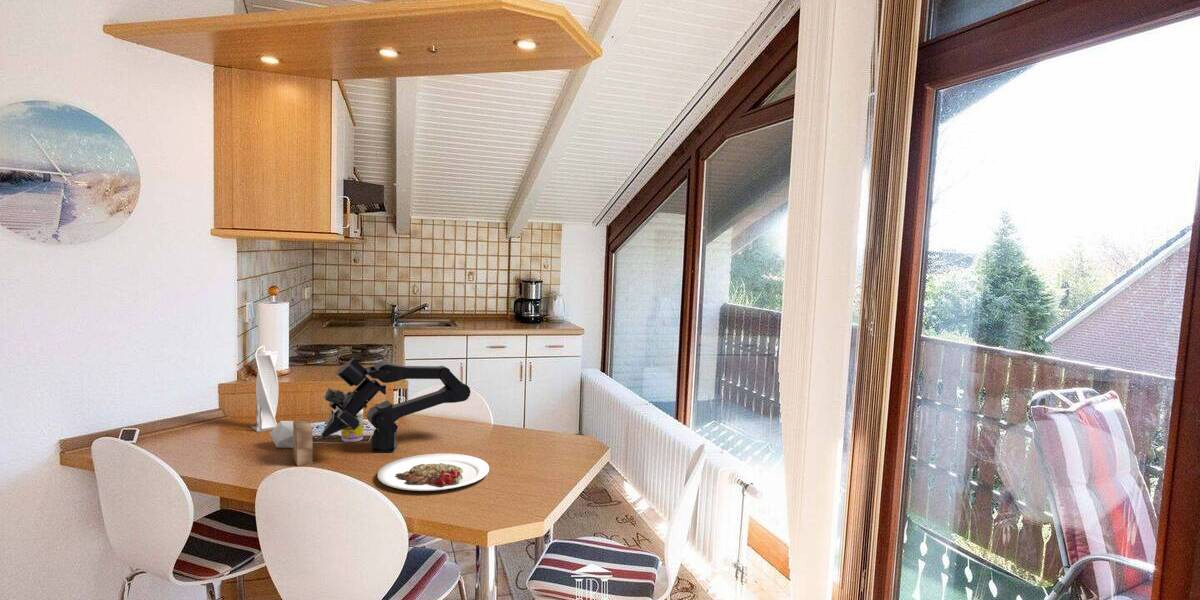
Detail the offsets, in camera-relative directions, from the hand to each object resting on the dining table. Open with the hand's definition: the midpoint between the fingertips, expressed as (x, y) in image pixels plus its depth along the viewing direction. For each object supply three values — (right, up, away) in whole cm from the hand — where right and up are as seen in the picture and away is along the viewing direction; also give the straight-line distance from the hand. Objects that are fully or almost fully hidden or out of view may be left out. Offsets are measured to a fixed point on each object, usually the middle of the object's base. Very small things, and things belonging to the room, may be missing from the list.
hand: (322, 436), depth 192 cm
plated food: (+36, -9, -12) cm, 39 cm away
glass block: (-5, -7, -2) cm, 9 cm away
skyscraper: (-33, -4, +32) cm, 46 cm away
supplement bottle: (+1, -6, +20) cm, 21 cm away
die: (-16, -6, +11) cm, 20 cm away
